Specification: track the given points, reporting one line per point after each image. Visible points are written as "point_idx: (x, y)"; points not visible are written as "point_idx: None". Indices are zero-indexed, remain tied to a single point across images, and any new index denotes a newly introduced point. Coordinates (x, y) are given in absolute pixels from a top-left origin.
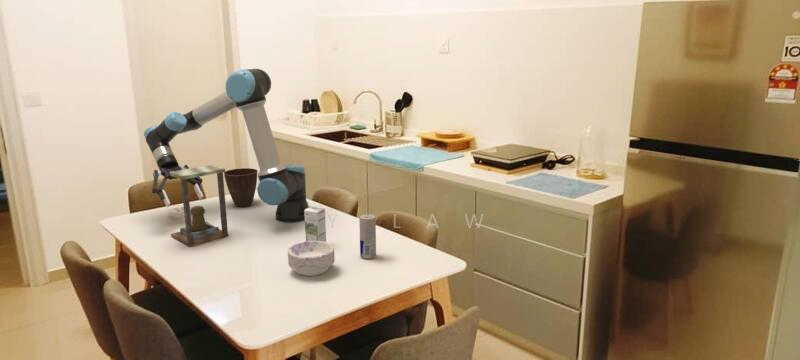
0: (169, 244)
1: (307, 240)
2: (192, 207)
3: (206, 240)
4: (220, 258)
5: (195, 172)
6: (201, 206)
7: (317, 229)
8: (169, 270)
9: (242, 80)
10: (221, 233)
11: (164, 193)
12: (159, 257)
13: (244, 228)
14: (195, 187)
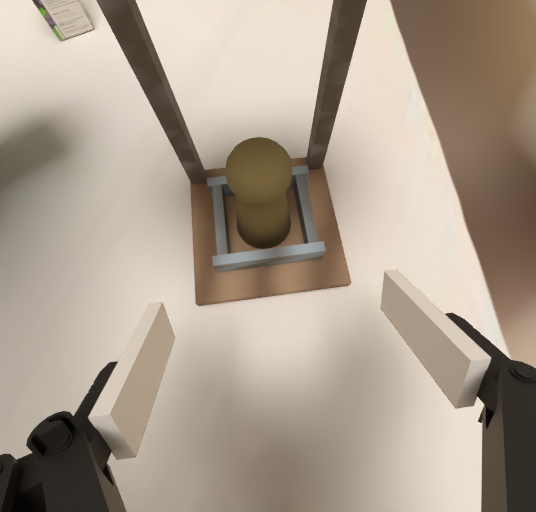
0: (366, 215)
1: (82, 6)
2: (278, 169)
3: None
4: (275, 62)
5: None
6: (235, 158)
7: None
8: (393, 60)
9: None
10: (206, 186)
11: (450, 325)
12: (406, 137)
13: (117, 220)
14: (133, 412)
